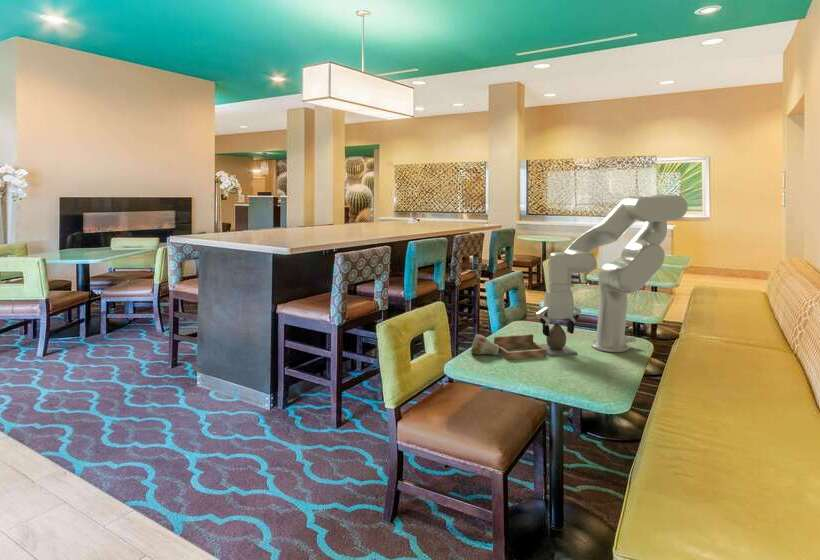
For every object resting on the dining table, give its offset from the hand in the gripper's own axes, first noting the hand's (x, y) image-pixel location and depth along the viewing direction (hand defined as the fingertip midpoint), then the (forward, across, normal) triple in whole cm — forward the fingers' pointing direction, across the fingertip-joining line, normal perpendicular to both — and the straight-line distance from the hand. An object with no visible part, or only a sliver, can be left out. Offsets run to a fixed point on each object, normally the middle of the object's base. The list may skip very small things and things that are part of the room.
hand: (558, 334), depth 189 cm
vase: (+6, +1, 0) cm, 6 cm away
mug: (+6, +27, -2) cm, 28 cm away
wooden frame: (+6, +15, 0) cm, 16 cm away
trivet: (+6, +1, 0) cm, 6 cm away
